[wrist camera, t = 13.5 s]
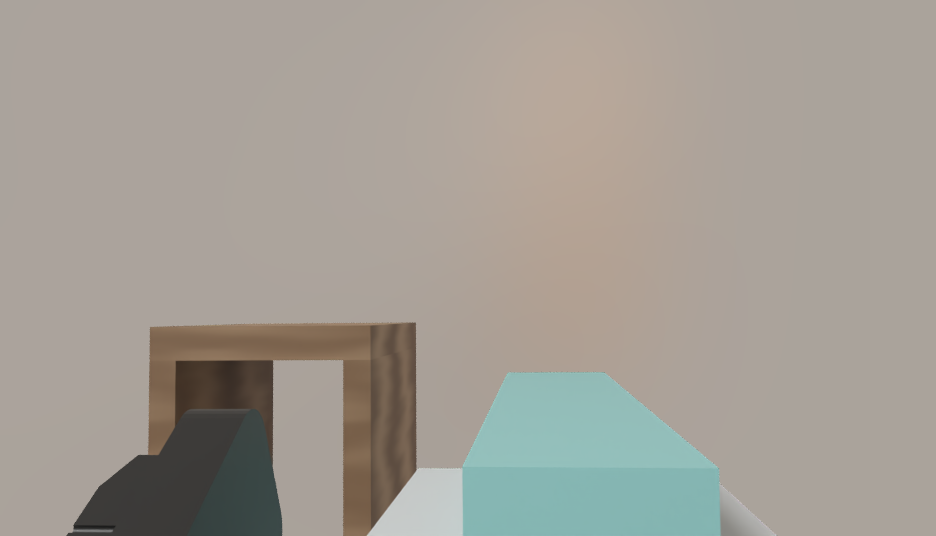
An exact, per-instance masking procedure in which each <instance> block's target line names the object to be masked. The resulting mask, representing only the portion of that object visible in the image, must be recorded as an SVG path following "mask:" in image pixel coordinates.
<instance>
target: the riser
mask: <svg viewBox="0 0 936 536" xmlns="http://www.w3.org/2000/svg"><path fill="white" fill-rule="evenodd" d="M719 490H720V530H721V536H777V535H776V534H775V533H774V532H772V531H771V530H770V529H769V528H768V527H767V526H766V525H765V524H764V523H763V522H762V521H760V520H759V519H758V518H757V517H756V516H755V515H754V514H753V513H752V512H751V511H749V510H748V509H747V508H746V507H745V506H744V505H743V504H742V503H741V502H740V501H738V500H737V499H736V498H735V497H734V496H733V495H732V494H731V493H730V492H729V491H728V490H726V489H725V488H724V487H723V486H722V485H721V484H720V483H719ZM367 536H463V486H462V469H461V468H460V469H459V468H457V469H456V468H418V470H417V471H416V472H415V473H414V475H413V476H412V477H411V479H410V480H409V481H408V482H407V484H406V485H405V486H404V488H403V489H402V490H401V492H400V493H399V494H398V496H397V497H396V498H395V499H394V501H393V502H392V503H391V505H390V506H389V507H388V509H387V510H386V511H385V513H384V514H383V515H382V517H381V518H380V519H379V520H378V522H377V523H376V524H375V526H374V527H373V528H372V530H371V531H370V532H369V534H368V535H367Z"/></svg>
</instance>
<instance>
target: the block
mask: <svg viewBox="0 0 936 536" xmlns="http://www.w3.org/2000/svg"><path fill="white" fill-rule="evenodd" d="M462 486H463V536H721V530H720V490H719V468H718V467H717V466H716V465H714V464H713V463H712V462H711V461H709V460H708V459H707V458H706V457H705V456H703V455H702V454H701V453H700V452H699V451H698V450H696V449H695V448H694V447H693V446H692V445H690V444H689V443H688V442H687V441H685V440H684V439H683V438H682V437H681V436H680V435H678V434H677V433H676V432H674V430H672V429H671V428H670V427H669V426H668V425H666V424H665V423H664V422H663V421H661V420H660V419H659V418H658V417H657V416H656V415H654V414H653V413H652V412H651V411H650V410H649V409H647V408H646V407H645V406H644V405H643V404H641V403H640V402H639V401H638V400H637V399H635V398H634V397H633V396H632V395H631V394H629V393H628V392H627V391H626V390H625V389H623V388H622V387H621V386H620V385H619V384H617V383H616V382H615V381H614V380H613V379H611V378H610V377H609V376H608V375H607V374H605V373H604V372H556V373H555V372H553V373H551V372H550V373H548V372H545V373H544V372H541V373H538V372H535V373H507V375H506V377H505V379H504V382H503V384H502V386H501V388H500V390H499V392H498V394H497V396H496V398H495V400H494V402H493V404H492V407H491V408H490V411H489V413H488V415H487V417H486V419H485V421H484V423H483V425H482V427H481V429H480V431H479V434H478V435H477V437H476V440H475V442H474V444H473V446H472V448H471V450H470V452H469V454H468V456H467V458H466V461H465V462H464V464H463V467H462Z"/></svg>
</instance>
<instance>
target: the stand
mask: <svg viewBox="0 0 936 536" xmlns="http://www.w3.org/2000/svg"><path fill="white" fill-rule="evenodd" d="M273 360H343V361H344V362H343V366H344V367H343V368H344V369H343V372H344V373H343V376H344V378H343V380H344V381H343V383H344V384H343V385H344V386H343V389H344V390H343V393H344V394H343V402H344V405H343V406H344V407H343V416H344V417H343V420H344V421H343V427H344V428H343V429H344V430H343V431H344V432H343V434H344V435H343V447H344V448H343V451H344V452H343V453H344V454H343V459H344V460H343V461H344V462H343V465H344V469H343V470H344V471H343V472H344V473H343V481H344V482H343V488H344V489H343V491H344V492H343V495H344V496H343V500H344V502H343V503H344V504H343V506H344V507H343V508H344V510H343V513H344V515H343V518H344V519H343V522H344V523H343V528H344V529H343V531H344V532H343V536H367V535H368V534H369V532H370V531H371V530H372V528H373V527H374V526H375V524H376V523H377V522H378V520H379V519H380V518H381V517H382V515H383V514H384V513H385V511H386V510H387V509H388V507H389V506H390V505H391V503H392V502H393V501H394V499H395V498H396V497H397V496H398V494H399V493H400V492H401V490H402V489H403V488H404V486H405V485H406V484H407V482H408V481H409V480H410V479H411V477H412V476H413V475H414V473H415V472H416V323H309V324H308V323H303V324H234V325H205V326H204V325H203V326H173V327H172V326H170V327H150V372H149V374H150V375H149V447H148V448H149V449H148V455H159V453H160V451H161V450H162V448H163V446H164V445H165V443H166V441H167V440H168V438H169V436H170V435H171V433H172V431H173V430H174V428H175V426H176V425H177V423H178V421H179V420H180V418H181V417H182V415H183V414H184V413H185V412H186V411H187V410H189V409H256V410H258V411H259V413H260V414H261V416H262V419H263V422H264V426H265V431H266V436H267V441H268V446H269V452H270V457H271V462H272V465H273V457H272V456H273Z"/></svg>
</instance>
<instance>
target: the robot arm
mask: <svg viewBox="0 0 936 536" xmlns="http://www.w3.org/2000/svg"><path fill="white" fill-rule="evenodd" d="M67 536H282V517H281V510H280V504H279V499H278V494H277V489H276V483H275V478H274V473H273V467H272V462H271V457H270V452H269V446H268V441H267V436H266V431H265V426H264V422H263V419H262V416H261V414H260V413H259V411H258V410H256V409H189V410H187V411H186V412H185V413H184V414H183V415H182V417H181V418H180V420H179V421H178V423H177V425H176V426H175V428H174V430H173V431H172V433H171V435H170V436H169V438H168V440H167V441H166V443H165V445H164V446H163V448H162V450H161V451H160V453H159V455H138V456H137V457H135V458H134V459H133V460H132V461H130V462H129V463H128V464H127V465H126V466H124V467H123V468H122V469H120V470H119V471H118V472H117V473H116V474H114V475H113V476H112V477H111V478H110V479H108V480H107V481H106V482H104V483H103V484H102V485H101V486H99V488H98V489H97V491H96V492H95V494H94V495H93V497H92V498H91V500H90V501H89V503H88V504H87V506H86V507H85V509H84V510H83V512H82V513H81V515H80V516H79V518H78V519H77V521H76V522H75V524H74V530H73V533H68V534H67Z"/></svg>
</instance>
